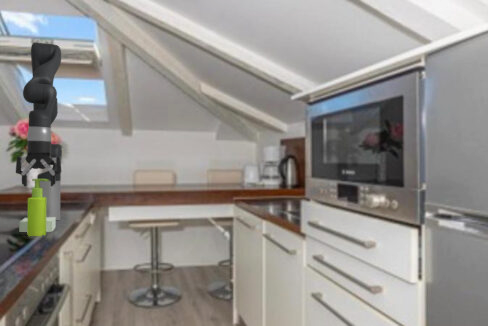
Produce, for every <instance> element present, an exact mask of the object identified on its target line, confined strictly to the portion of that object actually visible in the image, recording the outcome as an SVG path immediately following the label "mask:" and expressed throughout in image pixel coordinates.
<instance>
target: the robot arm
mask: <svg viewBox="0 0 488 326" xmlns="http://www.w3.org/2000/svg"><path fill="white" fill-rule="evenodd" d="M30 59H31V61H30V62H31V72H32V77H31V79H30V80H29V81H27V83H26V84H25V85H24V87H23V89H22V96H23V99H24V100H25V101H26V102H27V103H29V104H33V105H32V107H33V110H31V111H29V112H28V128H27V129H28V130H27V137H26V139H27V143H26V144H27V152H26V156H20V155H17V156H16V162H15V173H16V174H18V175H20V176H21V185H22V186H23V187H28V175H27V174H28V173H29V172H30V171H31V170H32V169H34V170H38V169H39V170H45V169H46V170H47V171H44V172H41V173H39V174H37V178H36V179H48V180H50V181H40V187H41V188H43V197H45V198H46V217H56V221H60V219H61V188H62V187H61V181H62V180H61V179H62V177H61V174H62V158H63V157H62V155H63V150H62V147H61V145H60V144H58V143H52V128H51V127H52V124H53V123H54V121H55V120H56V119H57V117H58V109H59V107H58V97H57V96H58V92H57V89H56V87H55V86H54V80H55V75H56V74H57V72H58V70H59V68H60V65H61V63H62V49H61V48H60V46H59V45H57V44H55V43H54V44H53V43H46V42H45V43H44V42H33V43H32V44H31V47H30ZM24 162H27V166H26V167H25V168H24V170H22V166H23V165H22V164H23V163H24Z"/></svg>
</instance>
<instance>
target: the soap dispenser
mask: <svg viewBox="0 0 488 326" xmlns="http://www.w3.org/2000/svg"><path fill="white" fill-rule="evenodd" d="M31 180H32V182H34V187H32V188H31V196H30V197H28V198H27V218H28V221H27V234H26V235H28V236H27V237H30V236H37V237H43V236H42V235H44V236H46V235H47V232H46V198H45V197H43V188H41V187H40V181H50V180H48V179H37V178H32V179H31Z"/></svg>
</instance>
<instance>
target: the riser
mask: <svg viewBox="0 0 488 326" xmlns="http://www.w3.org/2000/svg"><path fill="white" fill-rule="evenodd" d="M27 221H28V217H24V218H23V219H21V220H20V221H19V226H18V228H19V229H18V231H19V232H27ZM56 221H57V220H56V217H46V233H52V232H53V231H54V230H55V229H56V223H57V222H56Z"/></svg>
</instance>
